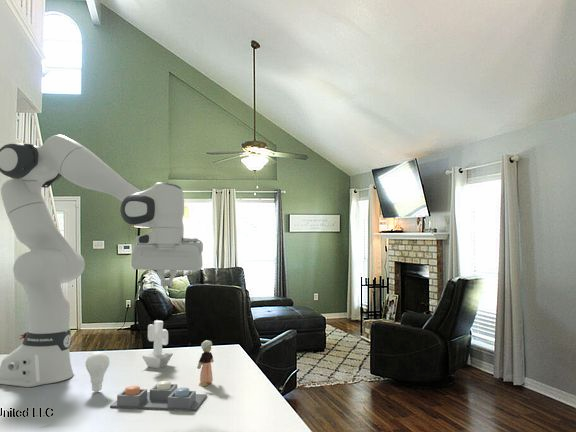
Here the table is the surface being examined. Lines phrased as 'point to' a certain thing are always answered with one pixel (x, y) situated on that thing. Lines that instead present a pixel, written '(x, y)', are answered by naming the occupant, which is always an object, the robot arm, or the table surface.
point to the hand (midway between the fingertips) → (166, 285)
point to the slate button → (182, 392)
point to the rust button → (132, 390)
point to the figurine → (157, 346)
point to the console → (159, 400)
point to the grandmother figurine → (206, 364)
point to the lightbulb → (97, 369)
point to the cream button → (164, 385)
